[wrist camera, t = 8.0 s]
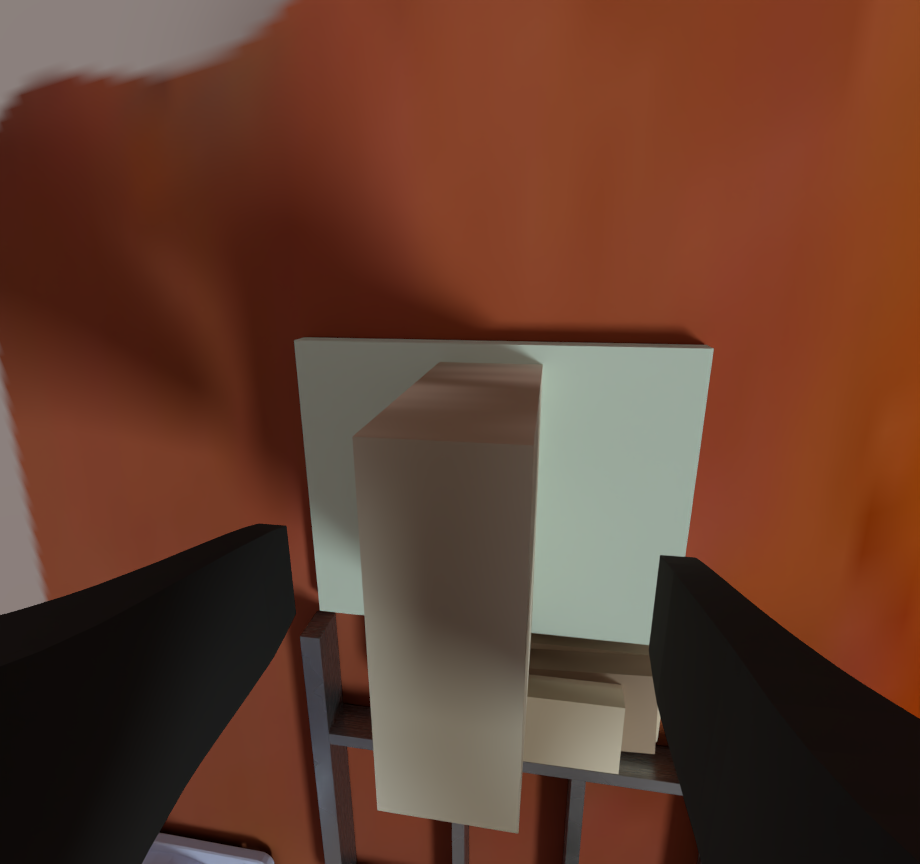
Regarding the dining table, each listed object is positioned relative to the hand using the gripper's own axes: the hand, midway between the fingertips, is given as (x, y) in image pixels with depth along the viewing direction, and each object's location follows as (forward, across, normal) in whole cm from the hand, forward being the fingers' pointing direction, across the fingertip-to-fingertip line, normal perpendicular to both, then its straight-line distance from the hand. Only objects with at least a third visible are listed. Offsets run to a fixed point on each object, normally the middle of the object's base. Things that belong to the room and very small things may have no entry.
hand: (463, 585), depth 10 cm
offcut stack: (+5, -1, +6) cm, 8 cm away
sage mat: (+5, 0, 0) cm, 5 cm away
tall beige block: (+4, 0, 0) cm, 4 cm away
